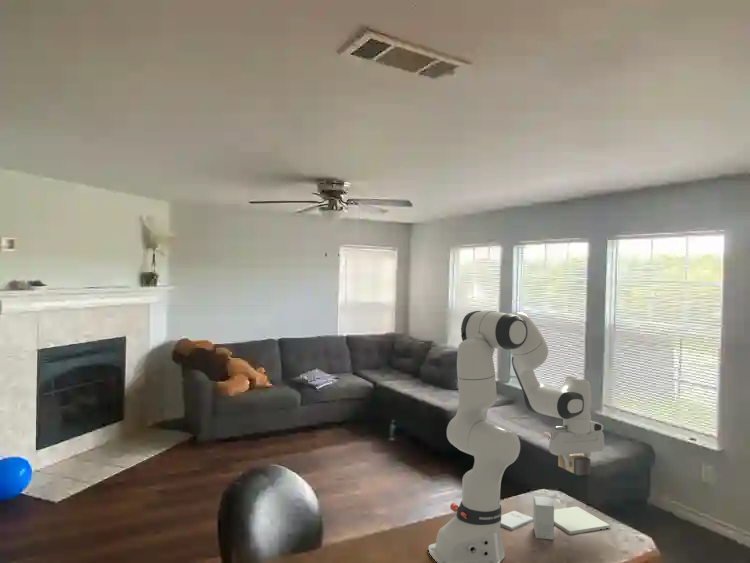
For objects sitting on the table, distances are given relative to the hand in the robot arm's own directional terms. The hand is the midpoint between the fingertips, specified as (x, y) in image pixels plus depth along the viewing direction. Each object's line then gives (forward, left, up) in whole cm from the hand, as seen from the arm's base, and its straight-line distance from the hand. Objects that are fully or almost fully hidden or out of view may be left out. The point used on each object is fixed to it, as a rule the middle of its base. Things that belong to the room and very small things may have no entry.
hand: (576, 465), depth 182 cm
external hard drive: (-20, +7, -20) cm, 29 cm away
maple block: (0, +6, +1) cm, 6 cm away
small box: (-16, -4, -19) cm, 25 cm away
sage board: (0, +1, -19) cm, 19 cm away
